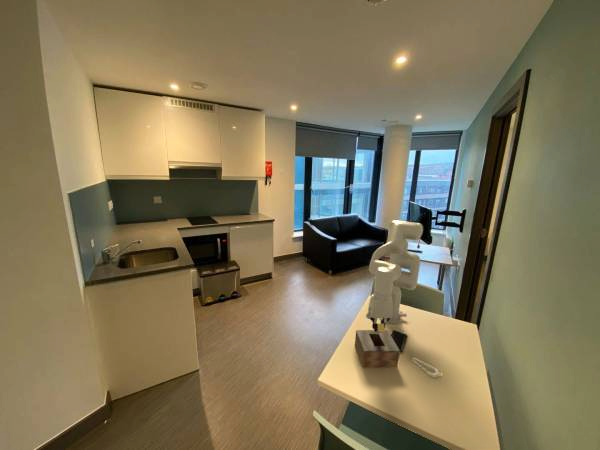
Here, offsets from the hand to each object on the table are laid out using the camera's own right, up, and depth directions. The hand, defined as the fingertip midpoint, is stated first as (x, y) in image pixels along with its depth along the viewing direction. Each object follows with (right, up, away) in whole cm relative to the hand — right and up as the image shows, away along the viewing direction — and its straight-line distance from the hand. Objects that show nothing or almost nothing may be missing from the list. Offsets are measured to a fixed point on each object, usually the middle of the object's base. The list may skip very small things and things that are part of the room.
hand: (378, 329), depth 112 cm
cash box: (-1, -14, +4) cm, 15 cm away
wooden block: (0, -1, -1) cm, 2 cm away
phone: (+14, -13, +14) cm, 24 cm away
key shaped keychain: (+21, -17, -3) cm, 27 cm away
